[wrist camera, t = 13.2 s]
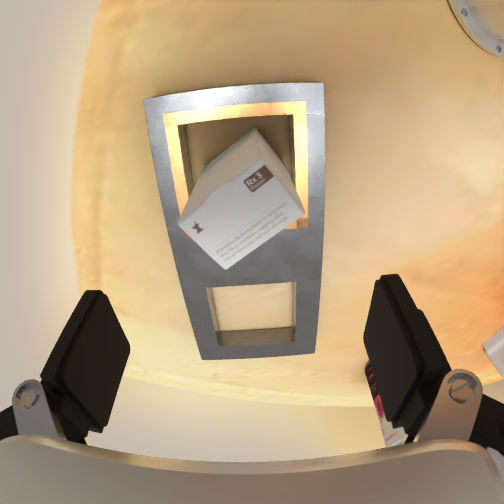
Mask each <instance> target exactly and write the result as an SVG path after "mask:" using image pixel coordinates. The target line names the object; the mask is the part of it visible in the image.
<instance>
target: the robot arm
mask: <svg viewBox="0 0 504 504" xmlns="http://www.w3.org/2000/svg"><path fill="white" fill-rule="evenodd" d="M448 1H449V4H450V6H451V8H452V11H453V13H454V14H455V16H456V18H457V20H458V22H459V23H460V25H461V26H462V27H463V29H464V30H465V32H466V33H467V34H468V35H469V36H470V38H471V39H472V40H473V41H474V42H475V43H476V44H478V45H479V46H480V47H481V48H482V49H484V50H485V51H487V52H488V53H491V54H493V55H495V56H500V57H504V0H448ZM363 338H364V345H365V348H366V351H367V354H368V357H369V361H370V364H371V367H372V371H373V374H374V378H375V381H376V385H377V388H378V392H379V395H380V399H381V403H382V406H383V410H384V414H385V418H386V420H387V422H391V423H392V427H393V429H395V428H400V427H403V428H404V432H405V434H407V435H406V437H405V438H404V440H403V442H402V444H401V445H397V446H391V447H386V448H382V449H376V450H372V451H365V452H359V453H352V454H346V455H339V456H332V457H323V458H314V459H304V460H293V461H276V462H206V461H190V460H178V459H168V458H158V457H151V456H144V455H137V454H130V453H124V452H119V451H113V450H108V449H103V448H98V447H93V446H92V444H91V442H90V440H89V438H88V436H87V435H88V431H89V430H90V431H93V432H98V433H102V431H103V428H104V427H105V426H107V424H108V421H109V417H110V414H111V410H112V407H113V404H114V401H115V397H116V394H117V391H118V388H119V384H120V381H121V378H122V375H123V372H124V369H125V366H126V363H127V360H128V357H129V354H130V344H129V342H128V340H127V338H126V336H125V334H124V332H123V330H122V327H121V325H120V323H119V321H118V319H117V317H116V315H115V312H114V310H113V308H112V306H111V304H110V301H109V299H108V297H107V295H106V294H103V292H102V291H101V290H87V291H85V292H84V294H83V296H82V297H81V299H80V301H79V302H78V304H77V306H76V308H75V309H74V311H73V313H72V315H71V317H70V318H69V320H68V322H67V324H66V326H65V327H64V329H63V331H62V333H61V335H60V337H59V339H58V341H57V342H56V344H55V346H54V348H53V350H52V352H51V354H50V356H49V358H48V360H47V362H46V364H45V367H44V368H43V371H42V373H41V375H40V377H41V378H42V380H41V382H39V381H37V380H34V379H31V380H27V381H24V382H22V383H21V384H20V385H19V386H18V387H17V388H16V390H15V391H14V393H13V397H12V406H10V407H9V408H7V409H5V410H3V411H2V412H0V504H504V404H503V403H501V402H499V401H497V400H495V399H492V398H490V397H488V396H486V395H484V394H483V388H482V384H481V382H480V380H479V378H478V377H477V376H476V375H475V374H474V373H472V372H470V371H469V370H465V369H455V370H451V368H450V365H449V363H448V361H447V359H446V357H445V355H444V353H443V350H442V348H441V346H440V344H439V342H438V340H437V338H436V336H435V334H434V332H433V330H432V328H431V326H430V324H429V322H428V321H427V319H426V317H425V315H424V313H423V312H422V311H421V310H420V309H417V307H416V305H415V303H414V301H413V299H412V298H411V296H410V294H409V292H408V290H407V288H406V287H405V285H404V283H403V281H402V280H401V278H400V276H399V275H398V274H388V275H382V276H381V277H380V280H376V281H375V286H374V291H373V295H372V300H371V305H370V309H369V314H368V318H367V322H366V327H365V331H364V337H363Z"/></svg>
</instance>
